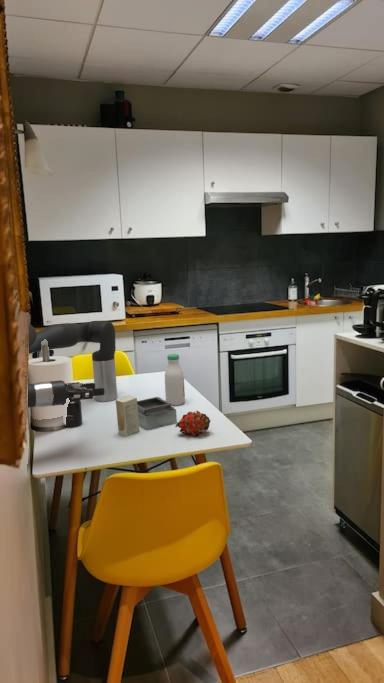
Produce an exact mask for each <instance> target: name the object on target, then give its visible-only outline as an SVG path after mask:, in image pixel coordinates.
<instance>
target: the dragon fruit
mask: <svg viewBox="0 0 384 683" xmlns="http://www.w3.org/2000/svg"><path fill="white" fill-rule="evenodd" d="M210 423H211V419H210V417H209V416H207V414H206V413H201V412H200V411H198V410H195V411H193V412H192V411H188V412H187V414H183V415H182V417H181V418H180V420H179V421H178V422H177V423H175V424H176V425H175V428H177V427H178V428H179V432H180V433H182V434H187V435H191V434H192V436H193V437H195V436H196V435H201V434H202V433H203V431H204V432H205V431H206V432H207V431H208V430H209V428H210Z"/></svg>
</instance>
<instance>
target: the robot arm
mask: <svg viewBox="0 0 384 683" xmlns="http://www.w3.org/2000/svg"><path fill="white" fill-rule="evenodd" d="M115 329H116V328H115V326H114V324H113V323H112V322H111V321H109V320H107V321H106V320H92V321H88V322H82V323H72V322H71V323H68V322H67V323H55V324H51V325H50V326H47V327H44V328H42V329H41V330H39V331H37V330H36V328H35V327H34V326H33V325H32V324H30V323H29V354H28V355H30V354H33V353H39V352H42V351H41V341H43V340H44V339H46V340H47V341H48V347H49V350H48V351H50V350H57V349H65V348H71V347H74V346H75V345H77V344H78V343H93V344H95V343H96V344H99V349H98V350H95V351H94V352H92V353H91V359H92V360H91V361H92V372H93V382H88V383H83V382H80V381H79V382H78V381H77V382H69V383H68V382H67V383H66V382H65V381H64V380H61V379H60V380H51V381H41V382H40V381H39V382H36V383H27V384H28V408H27V409H29V408H43V407H55V406H62V405H64V404H65V403H66V399H67V398H71V399H73V400H75V401H76V400H80V401H83V400H93V399H94V398H95V401H97V402H111V401H114V400H115V401H116V400H118V390H117V389H118V388H117V387H118V386H117V385H118V384H117V374H116V373H117V372H116V371H117V370H116V359H115V358H116V357H115V354H116V330H115Z"/></svg>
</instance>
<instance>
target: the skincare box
mask: <svg viewBox="0 0 384 683" xmlns="http://www.w3.org/2000/svg"><path fill="white" fill-rule="evenodd" d="M137 401H138V398H137V397H135V396H132V395H127V396H124V397H121V398H117V399H115V408H116V418H117V419H116V420H117V430H118V434H119V435H122V436H124V437H128V436H129V435H133V434H135V433H137V432H140V425H139V418H138V406H137Z"/></svg>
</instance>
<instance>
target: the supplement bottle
mask: <svg viewBox="0 0 384 683" xmlns="http://www.w3.org/2000/svg"><path fill="white" fill-rule="evenodd" d="M69 400H70V402H69V404H68V407H67V417H66V426H67V427H66V428H76V427H79V426H82V424H83V412H82V409H83V408H82V400H76V401H75V400H73V399H71V398H69Z"/></svg>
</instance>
